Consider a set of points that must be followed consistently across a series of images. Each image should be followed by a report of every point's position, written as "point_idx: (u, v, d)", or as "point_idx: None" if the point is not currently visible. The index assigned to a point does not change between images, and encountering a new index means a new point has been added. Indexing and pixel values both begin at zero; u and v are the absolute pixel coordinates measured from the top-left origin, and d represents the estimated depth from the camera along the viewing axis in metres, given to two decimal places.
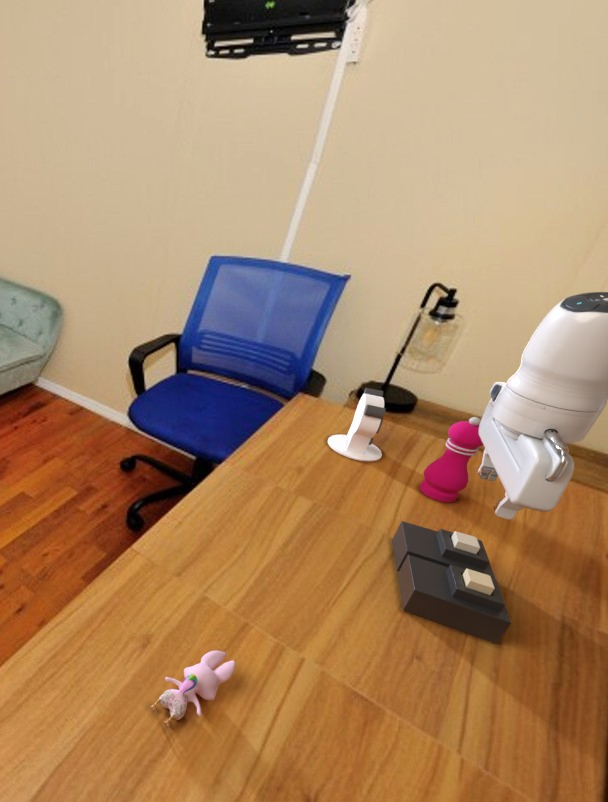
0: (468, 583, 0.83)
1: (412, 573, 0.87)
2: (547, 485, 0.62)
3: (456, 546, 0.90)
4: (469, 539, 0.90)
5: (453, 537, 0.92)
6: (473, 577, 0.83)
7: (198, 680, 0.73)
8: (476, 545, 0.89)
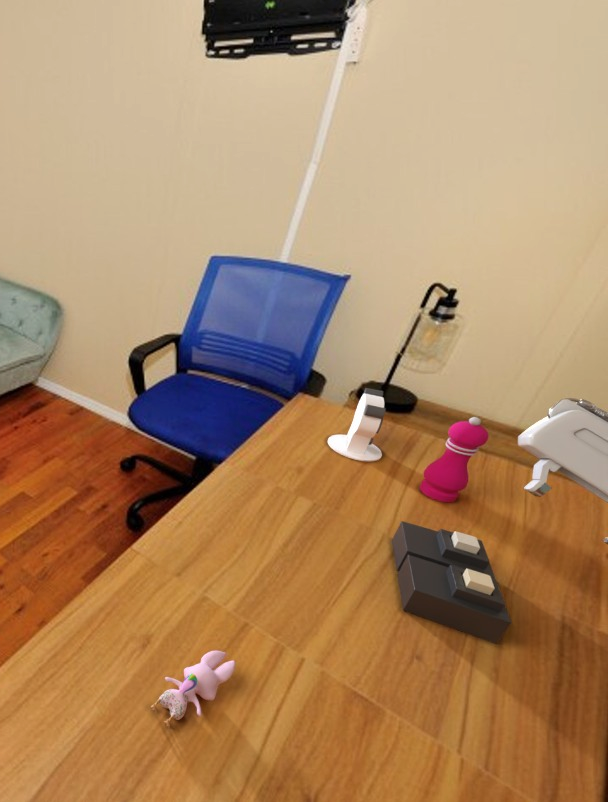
0: (468, 583, 0.83)
1: (412, 573, 0.87)
2: (544, 421, 0.70)
3: (456, 546, 0.90)
4: (469, 539, 0.90)
5: (453, 537, 0.92)
6: (473, 577, 0.83)
7: (198, 680, 0.73)
8: (476, 545, 0.89)
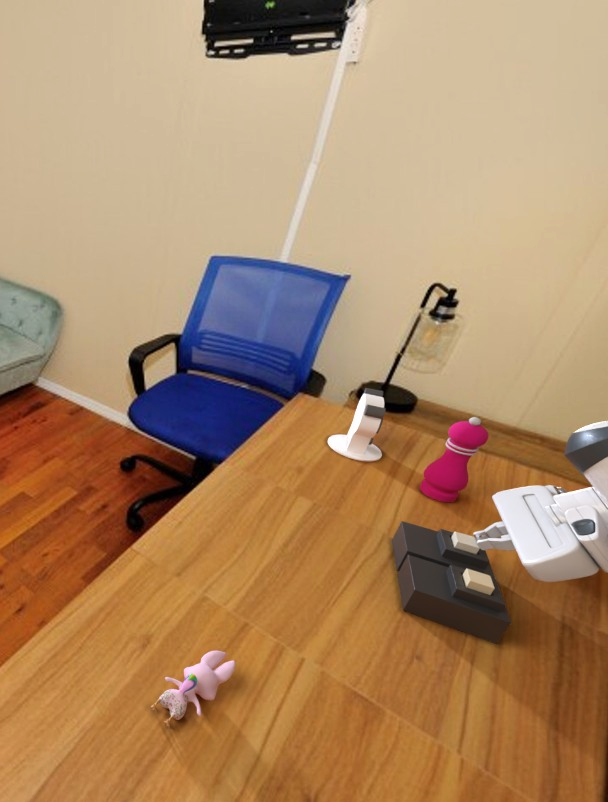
0: (468, 583, 0.83)
1: (412, 573, 0.87)
2: None
3: (456, 546, 0.90)
4: (469, 539, 0.90)
5: (453, 537, 0.92)
6: (473, 577, 0.83)
7: (198, 680, 0.73)
8: (476, 545, 0.89)
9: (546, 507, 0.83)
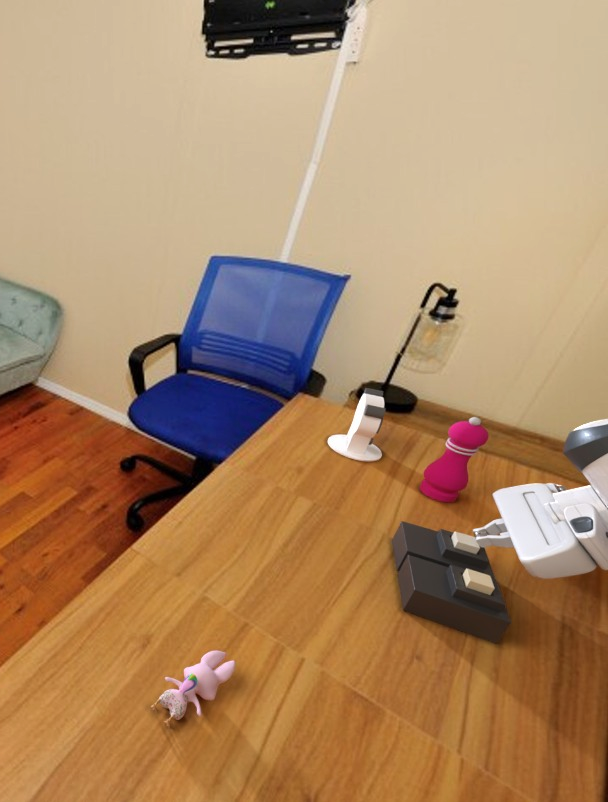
0: (468, 583, 0.83)
1: (412, 573, 0.87)
2: None
3: (456, 546, 0.90)
4: (469, 539, 0.90)
5: (453, 537, 0.92)
6: (473, 577, 0.83)
7: (198, 680, 0.73)
8: (476, 545, 0.89)
9: (545, 505, 0.83)
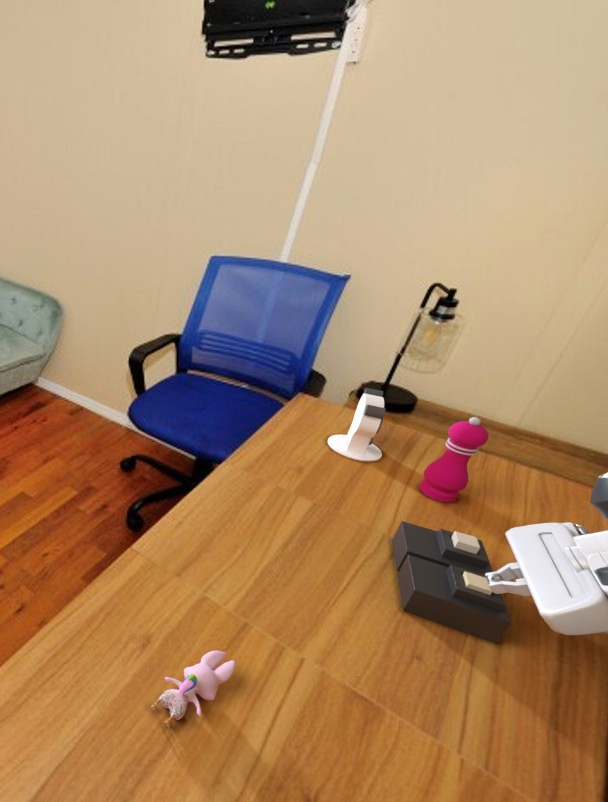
0: (466, 586, 0.83)
1: (412, 573, 0.87)
2: None
3: (456, 546, 0.90)
4: (469, 539, 0.90)
5: (453, 537, 0.92)
6: (471, 580, 0.83)
7: (198, 680, 0.73)
8: (476, 545, 0.89)
9: (565, 549, 0.75)
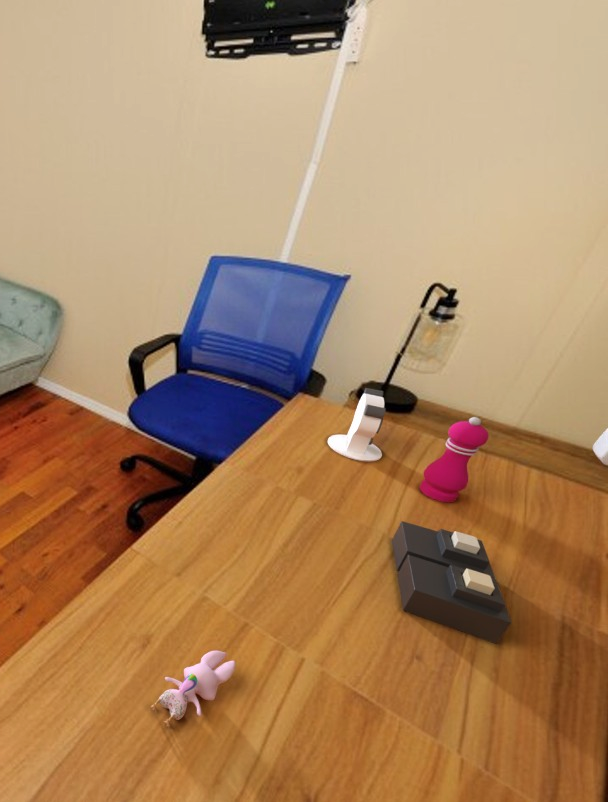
0: (468, 583, 0.83)
1: (412, 573, 0.87)
2: None
3: (456, 546, 0.90)
4: (469, 539, 0.90)
5: (453, 537, 0.92)
6: (473, 577, 0.83)
7: (198, 680, 0.73)
8: (476, 545, 0.89)
9: None
